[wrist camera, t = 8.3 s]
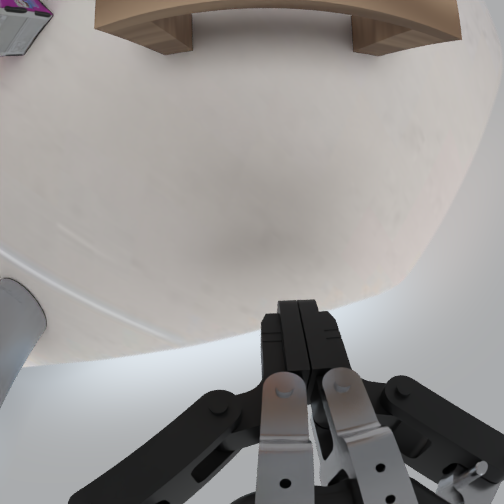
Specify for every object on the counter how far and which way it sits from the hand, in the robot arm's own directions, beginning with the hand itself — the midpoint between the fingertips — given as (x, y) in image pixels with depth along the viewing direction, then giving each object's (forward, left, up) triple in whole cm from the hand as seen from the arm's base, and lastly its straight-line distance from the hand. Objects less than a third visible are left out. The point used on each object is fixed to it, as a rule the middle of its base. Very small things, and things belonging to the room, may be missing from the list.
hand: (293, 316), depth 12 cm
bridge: (+12, +7, -11) cm, 18 cm away
